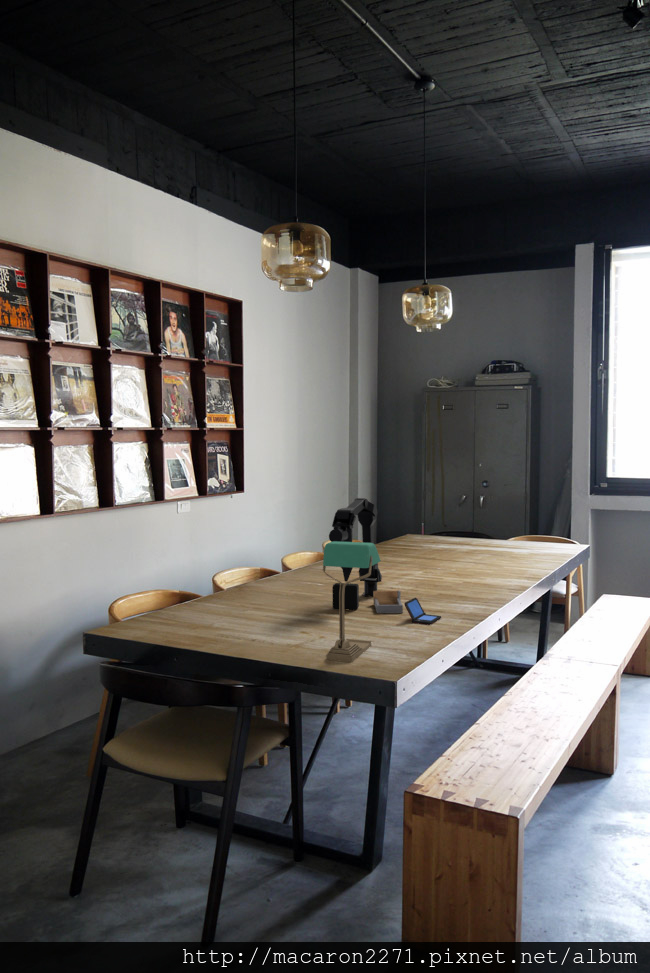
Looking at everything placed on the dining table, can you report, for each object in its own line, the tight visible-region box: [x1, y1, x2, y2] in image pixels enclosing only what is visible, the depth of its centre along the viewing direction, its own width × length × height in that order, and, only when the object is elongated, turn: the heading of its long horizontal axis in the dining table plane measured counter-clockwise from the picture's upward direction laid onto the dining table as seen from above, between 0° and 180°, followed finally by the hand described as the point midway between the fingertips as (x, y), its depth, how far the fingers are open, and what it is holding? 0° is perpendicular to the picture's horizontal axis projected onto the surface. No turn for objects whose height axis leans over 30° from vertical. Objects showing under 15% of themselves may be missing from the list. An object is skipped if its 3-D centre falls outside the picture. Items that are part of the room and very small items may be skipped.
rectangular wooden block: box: [372, 589, 402, 606], centre depth 311 cm, size 11×2×6 cm, turn 93°
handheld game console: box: [403, 597, 442, 626], centre depth 284 cm, size 12×11×7 cm
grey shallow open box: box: [374, 598, 404, 614], centre depth 303 cm, size 14×10×3 cm
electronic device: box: [331, 582, 360, 611], centre depth 304 cm, size 4×10×10 cm, turn 78°
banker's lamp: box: [322, 541, 381, 663], centre depth 240 cm, size 16×21×35 cm
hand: (345, 579), depth 303 cm, fingers open, 9 cm apart
